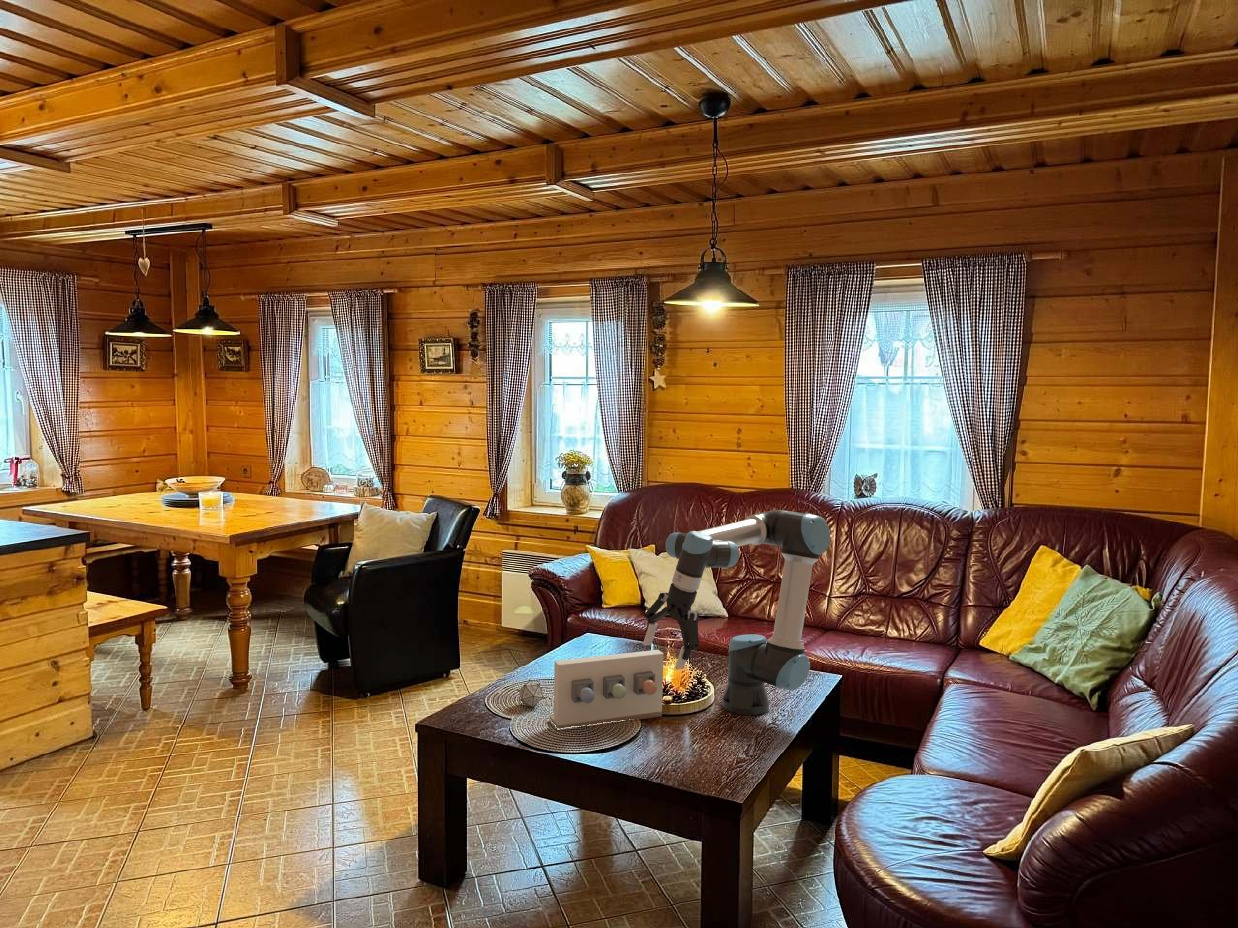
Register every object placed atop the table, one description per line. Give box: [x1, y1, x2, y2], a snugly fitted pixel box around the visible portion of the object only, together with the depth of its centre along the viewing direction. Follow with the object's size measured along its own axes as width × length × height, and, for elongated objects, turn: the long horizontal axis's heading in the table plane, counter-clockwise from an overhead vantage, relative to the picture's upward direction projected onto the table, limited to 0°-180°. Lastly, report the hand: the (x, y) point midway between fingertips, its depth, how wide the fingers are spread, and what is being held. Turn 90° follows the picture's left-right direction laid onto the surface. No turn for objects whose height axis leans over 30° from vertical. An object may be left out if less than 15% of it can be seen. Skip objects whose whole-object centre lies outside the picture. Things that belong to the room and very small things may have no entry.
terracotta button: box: [642, 680, 657, 695], centre depth 251 cm, size 2×4×4 cm, turn 112°
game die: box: [516, 678, 546, 709], centre depth 265 cm, size 9×8×10 cm
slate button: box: [579, 687, 595, 703], centre depth 244 cm, size 2×4×4 cm, turn 112°
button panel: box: [549, 649, 665, 728], centre depth 255 cm, size 11×34×20 cm, turn 112°
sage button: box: [611, 684, 626, 699], centre depth 247 cm, size 2×4×4 cm, turn 112°
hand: (662, 656), depth 233 cm, fingers open, 13 cm apart
